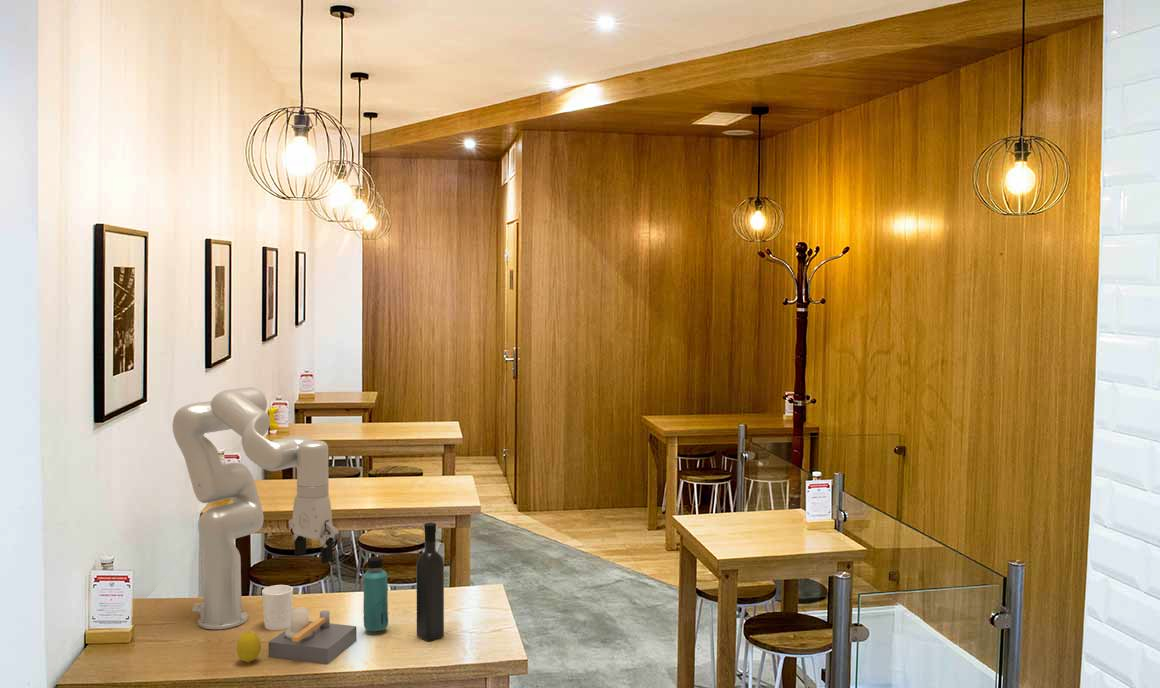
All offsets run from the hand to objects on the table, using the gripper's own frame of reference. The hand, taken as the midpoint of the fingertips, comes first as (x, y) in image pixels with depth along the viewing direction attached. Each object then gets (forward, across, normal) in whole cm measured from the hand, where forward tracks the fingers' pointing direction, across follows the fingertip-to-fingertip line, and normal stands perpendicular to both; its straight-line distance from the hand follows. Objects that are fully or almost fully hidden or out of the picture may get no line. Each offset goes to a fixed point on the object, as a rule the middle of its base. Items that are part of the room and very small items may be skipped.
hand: (313, 558), depth 234 cm
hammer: (+20, 0, -1) cm, 20 cm away
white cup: (+24, -21, +5) cm, 32 cm away
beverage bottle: (+24, +3, +18) cm, 30 cm away
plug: (+24, -3, -2) cm, 24 cm away
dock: (+24, -1, +1) cm, 24 cm away
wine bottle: (+24, +17, +24) cm, 38 cm away
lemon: (+24, -7, -14) cm, 29 cm away
